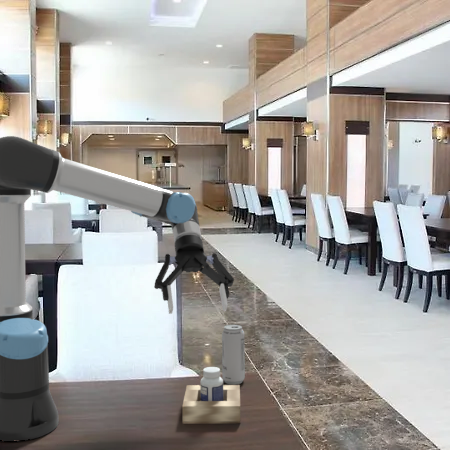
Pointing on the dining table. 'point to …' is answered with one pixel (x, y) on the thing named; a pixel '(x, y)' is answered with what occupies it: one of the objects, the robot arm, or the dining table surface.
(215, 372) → the pill bottle
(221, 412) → the socket block
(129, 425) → the dining table surface
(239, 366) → the energy drink can
